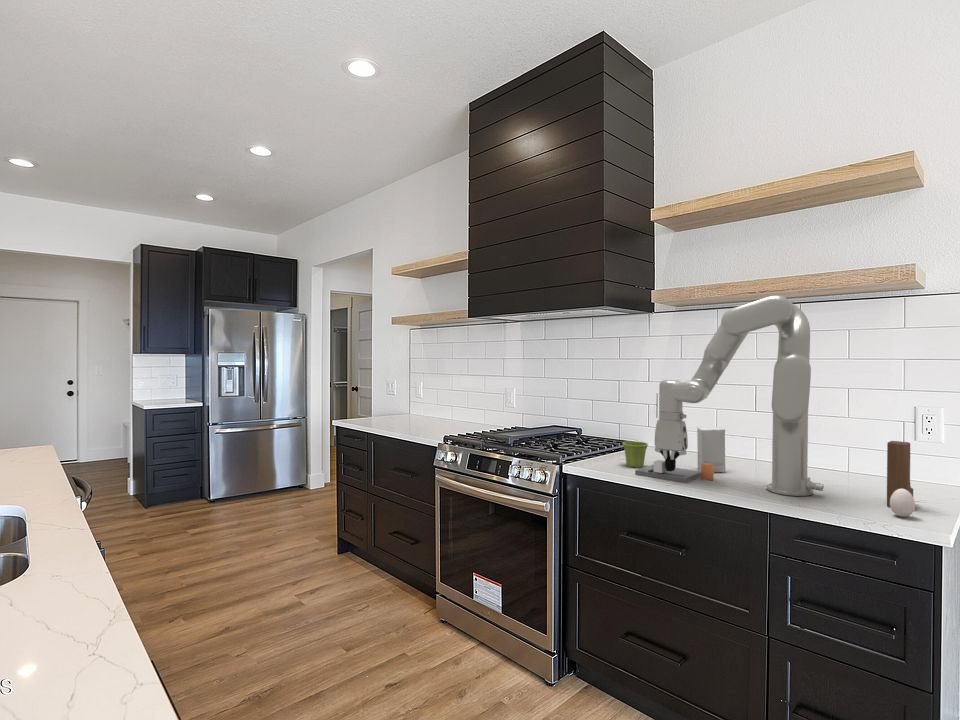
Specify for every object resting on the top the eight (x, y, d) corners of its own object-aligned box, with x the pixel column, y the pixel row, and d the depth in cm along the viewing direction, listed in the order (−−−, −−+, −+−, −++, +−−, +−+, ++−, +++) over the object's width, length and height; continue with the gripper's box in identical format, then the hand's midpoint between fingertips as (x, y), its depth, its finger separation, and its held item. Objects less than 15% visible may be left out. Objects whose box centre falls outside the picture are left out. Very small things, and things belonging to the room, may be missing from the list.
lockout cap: (715, 479, 190) (715, 464, 190) (710, 481, 187) (711, 466, 187) (703, 477, 193) (703, 462, 193) (699, 479, 190) (699, 464, 190)
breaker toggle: (667, 471, 193) (667, 461, 193) (661, 473, 191) (661, 462, 190) (658, 469, 196) (658, 459, 195) (653, 471, 193) (653, 461, 193)
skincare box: (720, 469, 205) (720, 426, 205) (726, 473, 199) (726, 429, 199) (696, 469, 206) (696, 426, 206) (701, 472, 200) (701, 429, 199)
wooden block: (894, 500, 162) (894, 438, 162) (913, 504, 159) (914, 440, 158) (886, 506, 156) (887, 442, 156) (906, 510, 153) (907, 444, 152)
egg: (891, 518, 146) (891, 489, 145) (888, 512, 150) (888, 485, 150) (916, 521, 143) (917, 492, 143) (913, 515, 148) (913, 487, 147)
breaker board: (702, 475, 195) (702, 469, 194) (685, 482, 184) (685, 476, 184) (653, 468, 207) (653, 462, 207) (635, 474, 197) (635, 468, 197)
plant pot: (653, 467, 208) (653, 444, 208) (632, 469, 205) (632, 446, 205) (637, 463, 217) (637, 440, 217) (617, 465, 214) (617, 442, 213)
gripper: (697, 417, 188) (696, 472, 188) (655, 413, 198) (654, 465, 198) (687, 419, 182) (687, 475, 183) (644, 415, 193) (644, 469, 193)
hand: (670, 470), depth 190 cm, fingers closed
